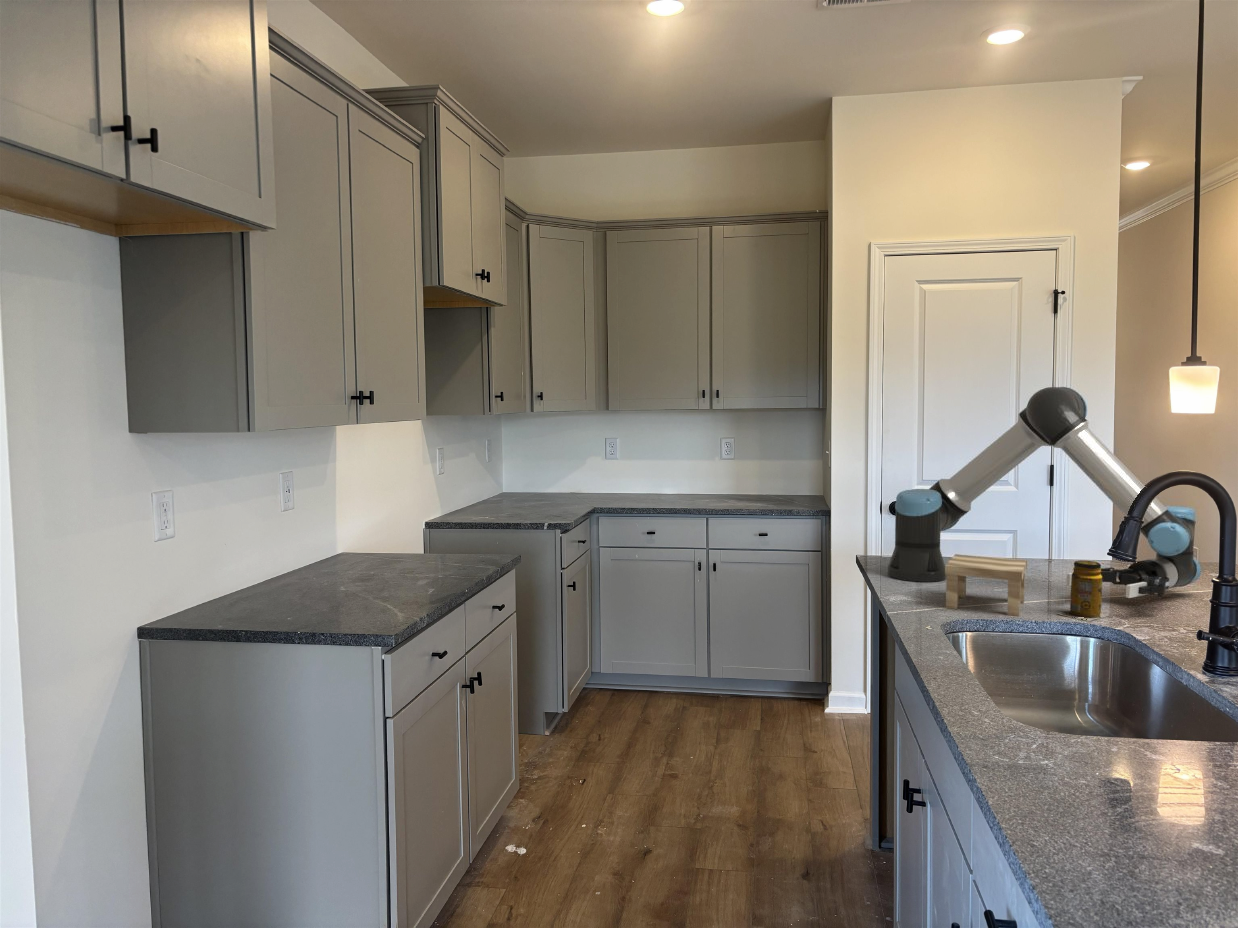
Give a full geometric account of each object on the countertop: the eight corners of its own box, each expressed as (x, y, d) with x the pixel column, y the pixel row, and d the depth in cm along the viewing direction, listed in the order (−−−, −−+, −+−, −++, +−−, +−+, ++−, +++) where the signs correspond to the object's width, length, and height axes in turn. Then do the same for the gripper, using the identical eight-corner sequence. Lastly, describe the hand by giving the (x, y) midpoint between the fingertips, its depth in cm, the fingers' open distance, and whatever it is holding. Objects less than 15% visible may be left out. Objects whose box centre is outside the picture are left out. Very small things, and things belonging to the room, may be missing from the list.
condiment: (1109, 616, 185) (1111, 562, 184) (1089, 621, 180) (1091, 567, 179) (1076, 609, 191) (1078, 557, 190) (1056, 614, 186) (1057, 562, 185)
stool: (954, 593, 206) (955, 554, 206) (1025, 601, 198) (1026, 560, 198) (944, 607, 193) (945, 565, 192) (1020, 616, 185) (1021, 572, 184)
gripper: (1208, 602, 186) (1154, 614, 176) (1098, 581, 208) (1044, 590, 198) (1209, 569, 185) (1155, 579, 175) (1099, 551, 207) (1046, 559, 197)
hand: (1096, 585), depth 186 cm, fingers open, 13 cm apart
